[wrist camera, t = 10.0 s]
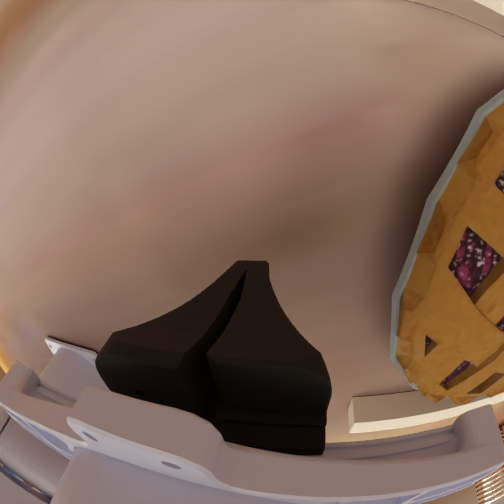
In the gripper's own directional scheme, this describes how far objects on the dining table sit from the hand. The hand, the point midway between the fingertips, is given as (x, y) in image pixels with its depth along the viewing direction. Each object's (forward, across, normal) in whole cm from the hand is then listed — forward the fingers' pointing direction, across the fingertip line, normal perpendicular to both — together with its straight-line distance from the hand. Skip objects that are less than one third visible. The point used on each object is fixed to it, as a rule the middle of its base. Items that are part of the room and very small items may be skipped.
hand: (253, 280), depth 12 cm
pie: (+3, -17, 0) cm, 17 cm away
